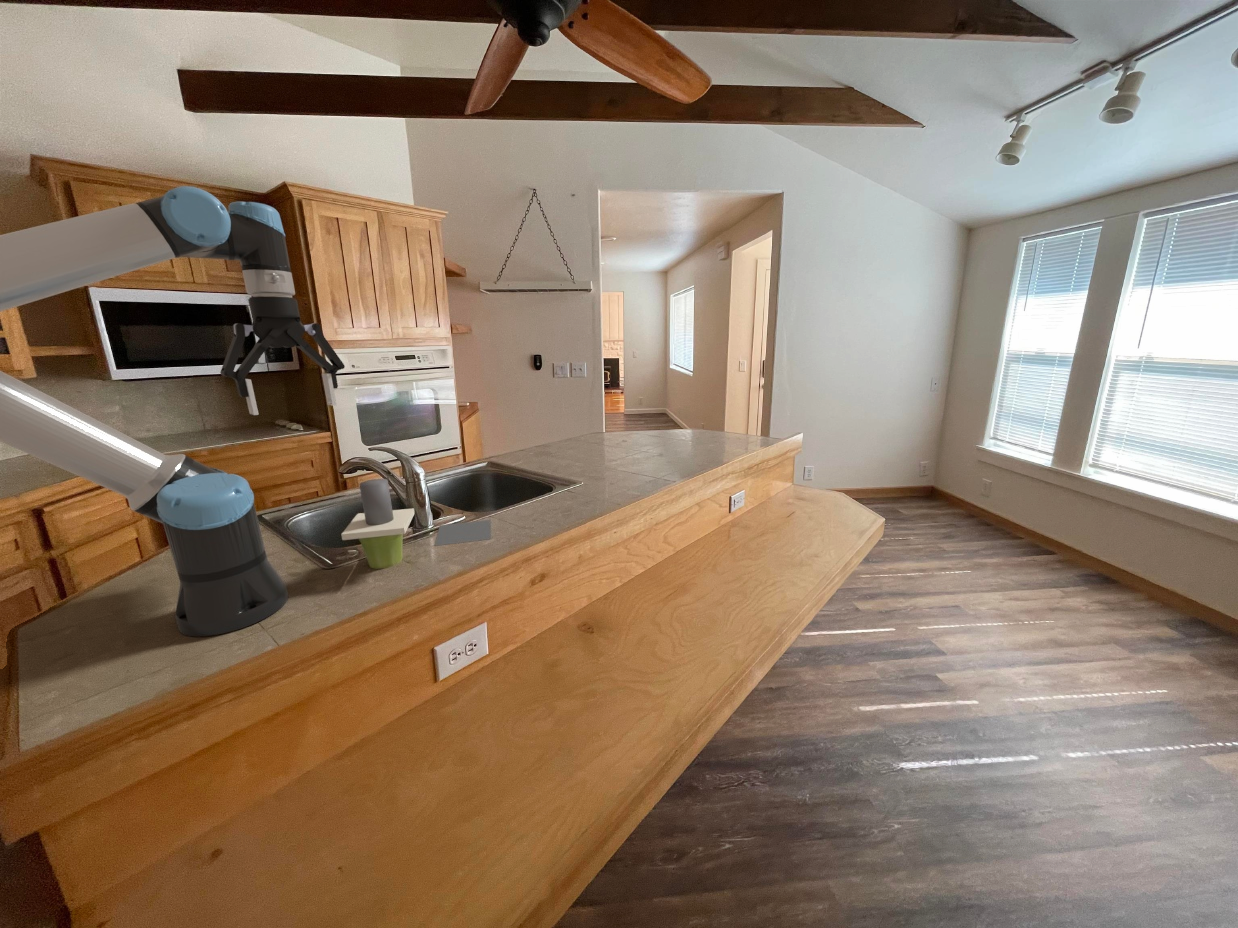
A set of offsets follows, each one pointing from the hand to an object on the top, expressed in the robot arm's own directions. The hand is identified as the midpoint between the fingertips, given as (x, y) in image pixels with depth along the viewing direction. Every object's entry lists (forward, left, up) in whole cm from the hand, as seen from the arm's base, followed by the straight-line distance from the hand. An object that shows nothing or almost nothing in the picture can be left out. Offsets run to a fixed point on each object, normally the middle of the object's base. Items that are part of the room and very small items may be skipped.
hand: (295, 409), depth 95 cm
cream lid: (-9, -14, -23) cm, 29 cm away
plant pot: (-9, -14, -32) cm, 36 cm away
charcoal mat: (+2, -29, -32) cm, 43 cm away
